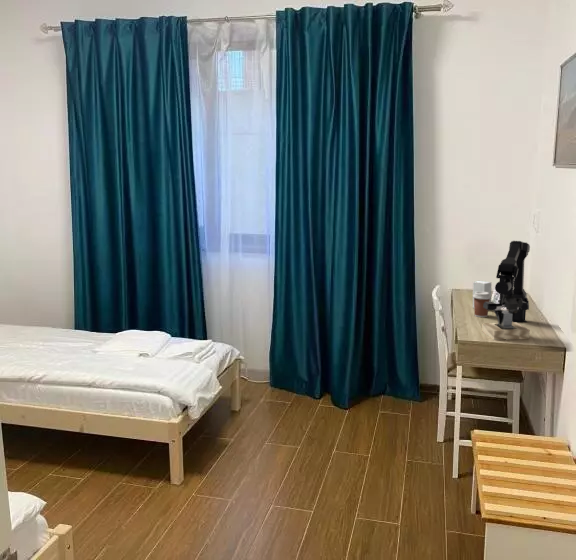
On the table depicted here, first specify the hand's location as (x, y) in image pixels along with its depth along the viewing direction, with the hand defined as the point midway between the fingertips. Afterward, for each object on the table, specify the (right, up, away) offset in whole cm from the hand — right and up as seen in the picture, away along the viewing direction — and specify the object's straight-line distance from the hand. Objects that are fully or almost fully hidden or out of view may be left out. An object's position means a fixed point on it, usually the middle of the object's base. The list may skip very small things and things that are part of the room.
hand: (504, 323), depth 277 cm
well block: (0, -5, 0) cm, 5 cm away
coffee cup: (+1, +1, +36) cm, 36 cm away
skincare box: (+6, +4, +52) cm, 52 cm away
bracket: (0, -2, 0) cm, 2 cm away
